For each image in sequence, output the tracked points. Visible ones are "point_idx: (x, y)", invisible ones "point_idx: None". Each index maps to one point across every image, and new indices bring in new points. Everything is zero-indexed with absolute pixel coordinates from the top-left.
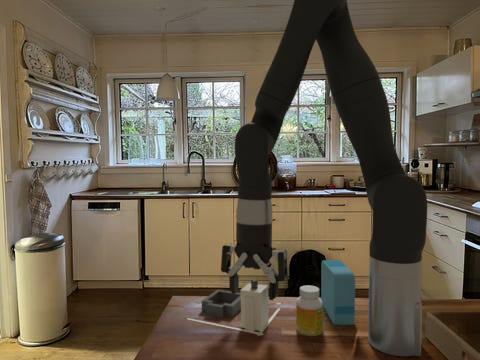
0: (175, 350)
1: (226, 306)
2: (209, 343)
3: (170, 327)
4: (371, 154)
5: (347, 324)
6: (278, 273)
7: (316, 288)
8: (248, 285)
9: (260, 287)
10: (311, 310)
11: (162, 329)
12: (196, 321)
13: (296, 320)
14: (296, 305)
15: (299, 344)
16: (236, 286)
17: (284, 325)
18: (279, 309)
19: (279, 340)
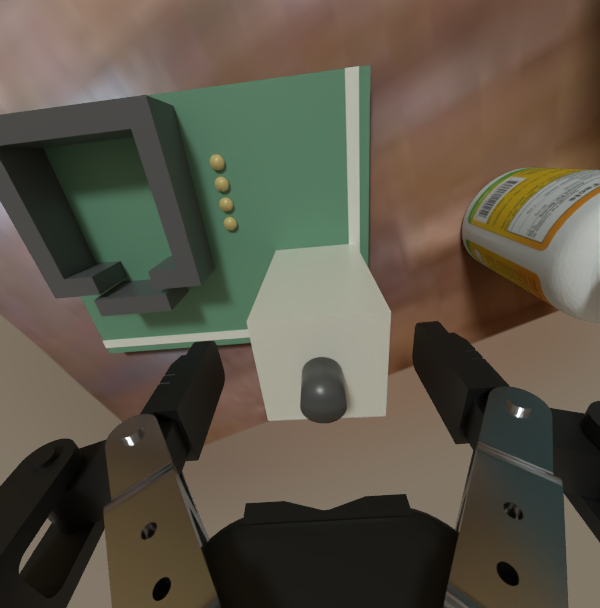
0: None
1: (174, 285)
2: (246, 385)
3: (101, 369)
4: None
5: None
6: (594, 534)
7: None
8: (268, 355)
9: (355, 358)
10: None
11: (96, 384)
12: (142, 344)
13: (489, 256)
14: (535, 281)
15: (475, 293)
16: (211, 381)
17: (404, 194)
18: (357, 84)
19: (411, 299)
